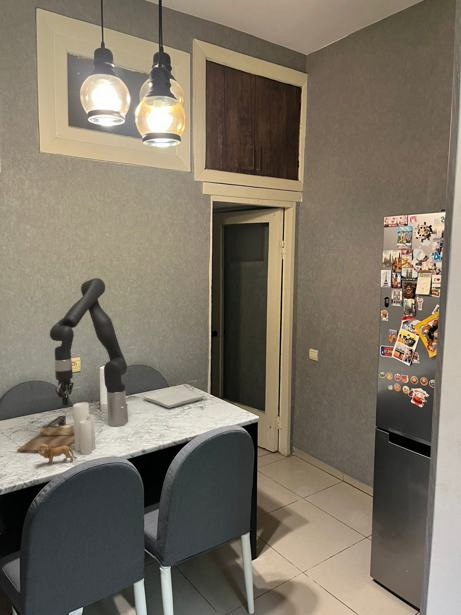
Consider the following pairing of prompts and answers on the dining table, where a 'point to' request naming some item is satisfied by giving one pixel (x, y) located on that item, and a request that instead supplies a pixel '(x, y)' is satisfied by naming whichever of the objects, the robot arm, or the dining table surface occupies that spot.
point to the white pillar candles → (84, 428)
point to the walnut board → (48, 438)
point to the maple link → (57, 430)
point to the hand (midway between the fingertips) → (65, 405)
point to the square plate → (174, 397)
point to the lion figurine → (55, 452)
